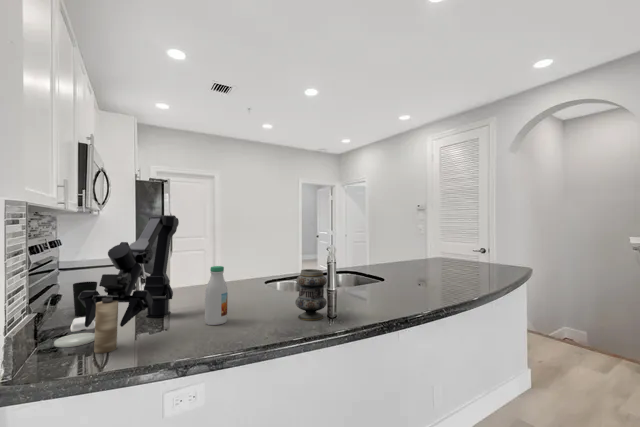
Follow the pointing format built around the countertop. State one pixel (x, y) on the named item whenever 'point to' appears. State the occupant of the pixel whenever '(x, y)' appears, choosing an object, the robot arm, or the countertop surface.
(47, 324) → the countertop surface
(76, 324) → the soap
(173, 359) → the countertop surface
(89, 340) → the saucer
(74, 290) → the cup
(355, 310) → the countertop surface
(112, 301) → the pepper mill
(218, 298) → the milk bottle
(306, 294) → the apothecary jar
